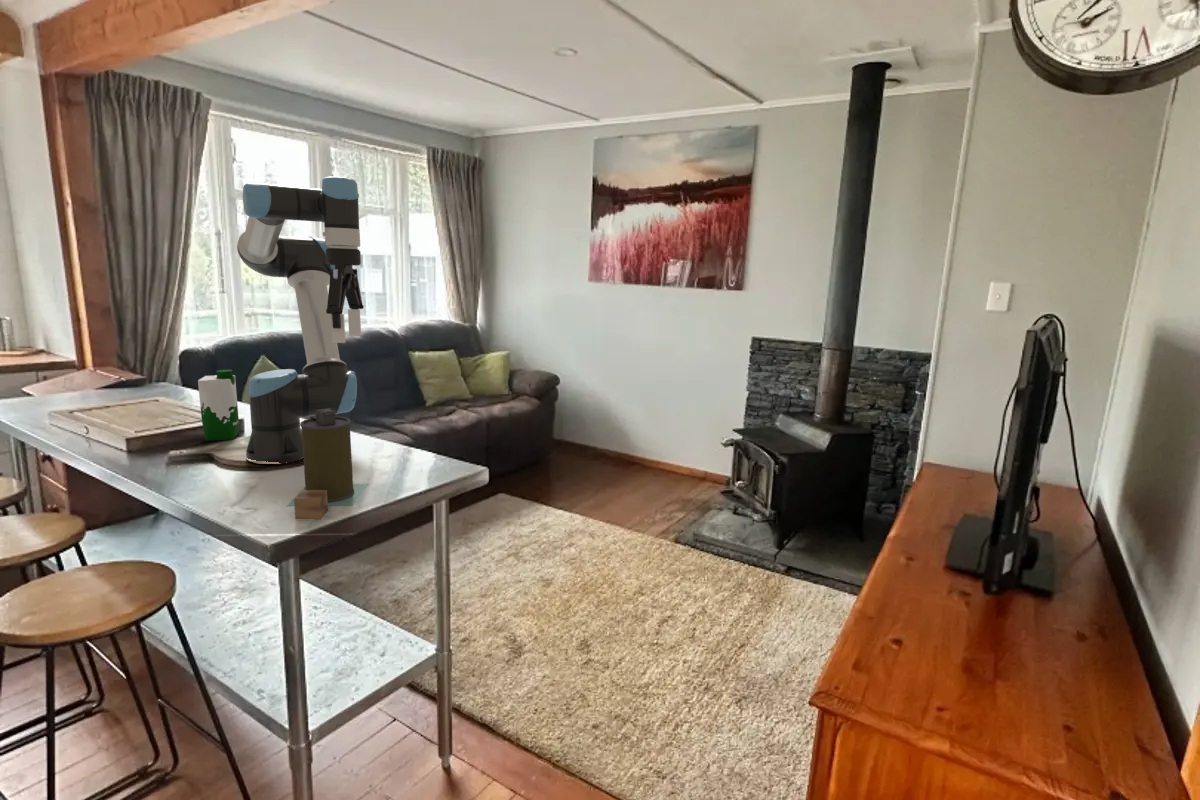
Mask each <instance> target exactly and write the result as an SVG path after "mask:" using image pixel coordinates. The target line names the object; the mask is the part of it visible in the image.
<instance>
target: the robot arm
mask: <svg viewBox="0 0 1200 800" xmlns="http://www.w3.org/2000/svg"><path fill="white" fill-rule="evenodd" d="M359 196H360V195H359V190H358V183H357V181H356V180H355V179H353V178H349V177H341V176H325V177H323V178H322V181H321V188H313V187H312V188H310V187H303V186H302V187H301V186H298V187H297V186H289V185H280V184H279V185H278V184H272V183H271V184H269V183H264V182H259V183H258V182H257V183H256V182H255V183H254V182H253V183H252V182H251V183H249V182H247V183H245V184H244V185H243V187H242V203H243V204H242V205H243V211H244V214H245V215H246V216H248V219H247V223H246V227H245V231H244V232H242V233H241V234H240V236H239V237H238V240H237V244H236V249H237V253H238V255H239V258H240V260H242V262H243V263H244V264H245V265H246V266H247V267H248V268H249V269H251V270H253V271H254V272H256V273H258V274H260V275H263V276H267V277H273V278H286V279H287V284H288V285H289V286H290V287H291V288H292V289H294V292H295V297H296V298H295V299H296V304H297V309H298V316H299V322H300V328H301V334H302V335H301V336H302V340H303V347H304V352H305V358H306V364H305V365H304V366H303V368H302V369H301V370H302V374H298V371H296V369H293V368H286V369H281V368H280V369H275V370H269V371H268V370H267V371H264V372H260V373H257V374H255V375H253V376H252V377H251V378H250V379H249V380H248V392H247V396H248V399H249V410H250V422H251V423H250V424H251V425H250V427H251V432H250V436H249V440H248V444H247V447H246V450H245V454H246V455H245V456H246V459H247V458H248V459H251V460H256V461H266V462H267V461H268V462H279V463H286V462H287V463H286V464H289V463H288V462H291V463H295V462H294V461H296V460H299V459H301V458H302V457H303V444H302V430H301V426H300V423H301V420H300V419H301V418H305V417H308V418H309V417H311V416H316V410H321V409H328V408H330V409H332V410H333V411H335V415H338V414H343V413H349V412H351V411H352V410H354V407H355V405H356V402H357V394H358V393H357V391H358V389H357V388H358V383H357V382H358V381H357V380H358V379H357V375H356V371H352V370H348V365H347V363H346V362H344V361H343V360H341V358H340V353H339V352H340V351H339V348H338V347H339V346H338V344H345V343H346V328H345V327H346V324H345V323H346V322H345V313H343V310H344V306H345V300H346V301H347V305H348V308H349V309H347V317H348V320H347V321H348V335H349V336H352V337H355V336H357V337H361V336H362V327H361V325H362V323H361V322H362V321H361V310H364V307H365V305H364V304H363V300H362V295H361V289H360V282H359V278H358V277H359V275H358V268H354V267H353V266H357V267H358V266H360V265H361V264H362V258H361V255H362V254H361V250H360V249H358V248H359V247H361V237H360V236H361V233H360V232H361V231H360V210H359V209H360V208H359ZM286 220H287V221H305V222H315V223H317V222H319V223H324V232H322V236H323V237H324V238H319V237H313V236H307V237H306V236H305V237H304V236H287V235H281V233H282V229H283V227H284V224H285V221H286ZM299 461H300V460H299ZM296 462H297V461H296Z"/></svg>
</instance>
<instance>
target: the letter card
mask: <svg viewBox="0 0 1200 800" xmlns="http://www.w3.org/2000/svg"><path fill="white" fill-rule="evenodd" d="M367 487H369V483H353V489H354V493H353V495H352V496H350V497H349V498H346V499H344V500H341V501H335V502H328V507H353V506H354V505H355V503H357V501H358V499H359V498H360V497H361V495H362V494H363V493H364V491H365V490H366V488H367ZM302 490H306V487H305V486H304V488H303V489H302ZM286 507H295V506H294V498H292V500H291V501H289V502H288V504H286Z"/></svg>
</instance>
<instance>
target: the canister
mask: <svg viewBox="0 0 1200 800" xmlns="http://www.w3.org/2000/svg"><path fill="white" fill-rule="evenodd" d="M351 422H352V420H351V419H350V418H348V417H345V416H340V415H339V416H337V415H336V414H335V411H333V410H332V409H330V408H328V409H321V410H316V416H309V418H306V419H304V420H302V421H300V428H301V430H302V444H303V458H304V459H303V471H304V488H305V487H306V490H327V500H328V502H335V501H341V500H344V499H346V498H349V497H350V496H352V495H353V493H354V489H353V484H354V480H353V462H352V461H353V460H352V459H353V457H352V443H351V440H352V439H351V425H350V424H351Z"/></svg>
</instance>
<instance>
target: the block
mask: <svg viewBox="0 0 1200 800" xmlns="http://www.w3.org/2000/svg"><path fill="white" fill-rule="evenodd" d="M293 499H294V506H293V507H294V519H315V520H322V518H323V517H324V516H325V515H326V514H327V512H328V510H329V506H328V500H327V490H303V489H302V490H301V491H299V492H298V493H297V494H296V496H295V497H294V498H293Z"/></svg>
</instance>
